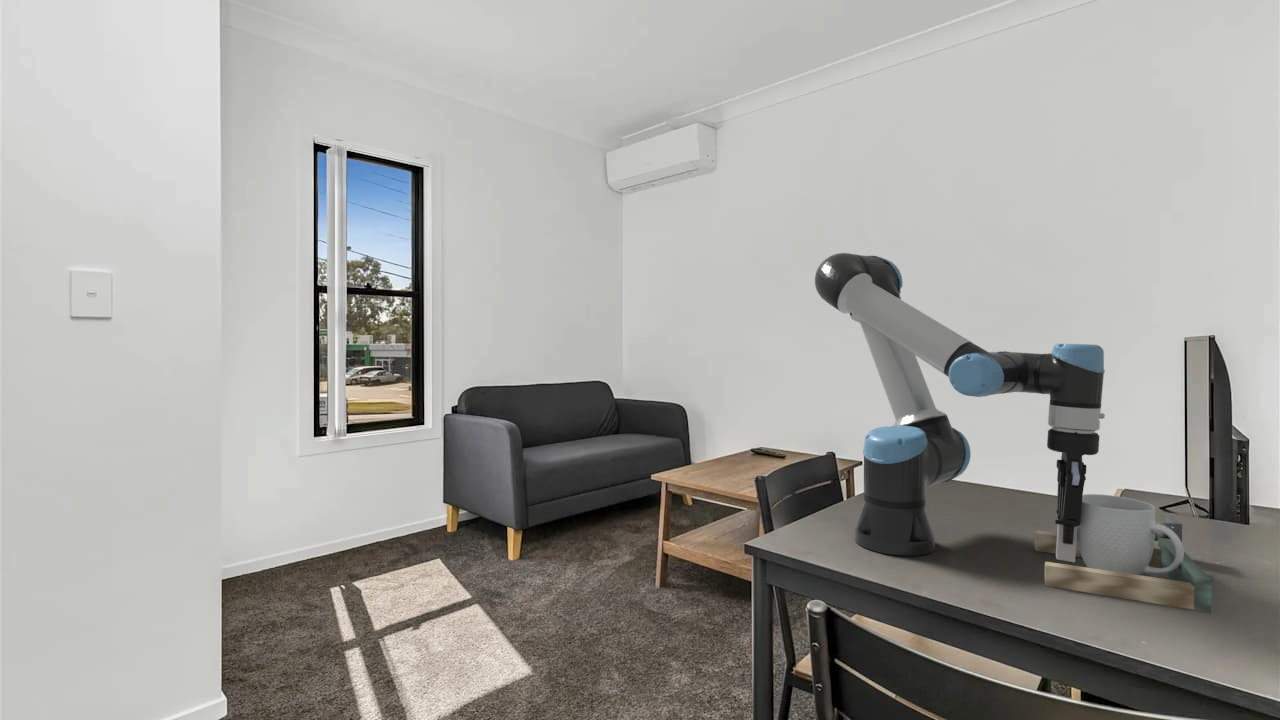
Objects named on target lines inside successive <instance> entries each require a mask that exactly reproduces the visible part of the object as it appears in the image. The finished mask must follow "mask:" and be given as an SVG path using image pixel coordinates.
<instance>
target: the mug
mask: <svg viewBox="0 0 1280 720" xmlns="http://www.w3.org/2000/svg"><path fill="white" fill-rule="evenodd" d="M1155 522H1157V521H1156V506H1155V505H1153V504H1151V503H1149V502H1146V501H1143V500H1138V499H1134V498H1130V497H1124V496H1118V495H1117V496H1116V495H1112V494H1111V495H1109V494H1097V493H1096V494H1094V493H1093V494H1091V493H1090V494H1083V496H1082V506H1081V515H1080V525H1079V526H1077V542H1078V546H1079V550H1080V553H1081V556H1082V557H1081V558H1082V561H1083V562H1084V564H1085V566H1086V567H1087V568H1093V569H1100V570H1107V571H1114V572H1121V573H1128V574H1135V575H1142V576H1144V574H1155V575H1166V574H1165V573H1170V572H1173V571H1175V570H1176V569H1178V568H1179V567H1180V565H1181V563H1182V561H1183V557H1184V552H1185V551H1184V546H1183V542H1182V543H1181V541H1180V539H1179V537H1178V536H1177V535H1176V534H1175V533H1174V532H1173V531H1172V530H1170V529H1169V528H1167V527H1165V526H1163V525H1159V524H1155ZM1155 531H1159V532H1162V533H1164V534H1166V535H1167V536H1168V537H1169V538H1170V539H1171V540H1172V542H1173V544H1174V547H1175V552H1176V555H1175V559H1174V561H1173V563H1172V564H1171V565H1170V566H1168V567H1165V568H1156V567H1149V566H1148V565H1149V562H1150V561H1151V557H1152V553H1153V547H1154V545H1155V541H1154V540H1155Z"/></svg>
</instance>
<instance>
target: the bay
mask: <svg viewBox="0 0 1280 720" xmlns="http://www.w3.org/2000/svg"><path fill="white" fill-rule="evenodd" d="M1034 532H1035V533H1034V550H1035V551H1036V552H1042V553H1043V552H1044V553H1049V554H1055V555H1056V544H1057V532H1052V531H1045V530H1038V529H1037V530H1034ZM1157 545H1158V546H1156V544H1154V547H1153V553H1152V557H1151V561H1150V562H1149V565H1148V566H1149V567H1153V568H1165V567H1168V566H1170V565H1171V564H1172V563H1173V561H1174V559H1175V555H1176V552H1175V547H1174V544H1173V542H1172V540H1171V539H1165V538H1158V541H1157ZM1075 557H1078V558H1082V556H1081V553H1080V550H1079V546H1078V542H1077V540H1076V555H1075ZM1164 575H1165V576H1166V577H1167V578H1160V577H1154V576H1149V575H1147V576H1146V575H1135V574H1128V573H1121V572H1114V571H1107V570H1100V569H1093V568H1088V567H1087V566H1086V567H1085V566H1078V565H1071V564H1066V563H1065V564H1064V563H1057V562H1051V561H1044V581H1043V582H1044V585H1045V587H1051V588H1058V589H1065V590H1071V591H1075V592H1081V593H1082V592H1083V593H1089V594H1095V595H1100V596H1101V595H1102V596H1106V597H1107V596H1108V597H1112V598H1113V597H1114V598H1119V599H1126V600H1132V601H1139V602H1143V603H1144V602H1145V603H1151V604H1157V605H1162V606H1169V607H1176V608H1181V609H1188V610H1194V611H1198V612H1199V611H1201V612H1206V613H1211V611H1212V588H1213V587H1212V586H1213V585H1212V583H1213V581H1212V578H1210V576H1209V575H1207V573H1205V572H1204V571H1203V569H1202V568H1201V567H1200V566H1199V565H1198V564H1197V563H1196V562H1195V561H1194V560H1193V559H1192V558H1191V557H1190V556H1189V554H1187V552H1185V551H1184V557H1183V561H1182V563H1181V565H1180V567H1179V568H1178V569H1176V570H1175V571H1173V572H1170V573H1165V574H1164Z"/></svg>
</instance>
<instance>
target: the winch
mask: <svg viewBox="0 0 1280 720" xmlns="http://www.w3.org/2000/svg"><path fill="white" fill-rule="evenodd" d="M1155 524H1159V525H1163V526H1165V527H1167V528H1169V529H1170V530H1172V531H1173V532H1174V533H1175V534H1176V535H1177V536H1178V537H1179V539H1180V541H1181V543H1182V544H1183V523H1181V521H1180V520H1178V519H1177V518H1176V517H1175V516H1167V515H1166V516H1165V522H1164V521H1163V522H1162V521H1156V522H1155ZM1158 538H1165V539H1170V538H1169V537H1168V536H1167V535H1166V534H1164V533H1162V532H1159V531H1155V540H1154V542H1158ZM1155 545H1156V544H1155ZM1156 546H1158V544H1157V545H1156Z"/></svg>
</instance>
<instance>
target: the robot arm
mask: <svg viewBox="0 0 1280 720" xmlns="http://www.w3.org/2000/svg"><path fill="white" fill-rule="evenodd" d="M814 276H815V277H814V286H815V289H816V292H817V293H818V295H819V296H820V298H821V299H823V301H825V302H826V303H828V305H829V306H831V307H833V308H835V309H836V310H838V311H839V312H841V313H842V314H849V316H850V319H851V320H852V321H855V322H857V323H859V324H860V326H861V329H862V331H863V334H864V337H865V340H866V342H867V345H868V348H869V351H870V353H871V355H872V360H873V361H874V365H875V367H876V371H878V372H877V373H878V375H879V378H880V381H881V383H882V386H883V389H884V391H885V394H886V396H887V399H888V403H889V405H890V407H891V410H892V413H893V416H894V420H895V422H894V424H893V425H891V426H887V425H886V426H880V427H877V428H873V429H871V430H869V431H868V432H867V433H866V434H865V438H864V443H863V444H864V445H863V446H864V447H863V449H862V454H863V505H862V507H861V510H860V513H859V515H858V518H857V520H856V523H855V527H854V542H856V543H857V544H858V545H859V546H861V547H862V548H865V549H868V550H871V551H874V552H877V553H881V554H887V555H894V556H905V557H906V556H909V557H912V556H915V557H917V556H924V555H927V554H928V555H929V554H930V553H932V552H934V551H935V549H936V537H935V535H934V531H933V527H932V525H931V521H930V518H929V516H928V513H927V509H926V508H927V507H926V500H927V499H926V498H927V497H926V495H927V494H926V493H927V491H926V490H927V489H926V488H927V487H930V486H933V485H937V484H943V483H947V482H950V481H952V480H953V479H957V478H958V477H959V476H961V475H962V474H963V473H964V472H965V471H966V469H967V467H969V464H970V461H971V454H972V453H971V447H970V446H971V445H970V444H969V441H968V439H967V438H966V436H965V435H964V434H963V433H962V432H961V431H959V430H957V429H956V428H955V427H953V426H952V425H951V423H950V419H949V417H948V415H947V413H945V412H944V411H941V410H939V409H938V408H937V407H936V405H935V402H934V400H933V398H932V394H931V392H930V390H929V386H928V384H927V382H926V379H925V376H924V375H923V372H922V369H921V367H920V364H919V362H918V359H917V357H918V358H919V359H920V360H922V361H924V362H925V363H927V364H928V365H929V366H931V367H933V368H934V369H936V370H937V371H938V372H941V373H942V374H944V375H945V376H946V377H948V379H949V382H950V384H951V386H952V388H953V389H954V390H955V391H956V392H957V393H959V394H960V395H964V396H968V397H976V398H977V397H979V398H981V397H988V396H992V395H1000V394H1002V395H1003V394H1009V393H1011V394H1012V393H1028V394H1041V395H1049V399H1050V400H1049V404H1048V405H1049V406H1048V417H1047V418H1048V419H1047V424H1048V426H1049V427H1051V428H1049V429H1048V430H1047V442H1046V443H1047V445H1046V446H1047V449H1049V450H1051V451H1052V452H1057V453H1061V456H1060V457H1061V459H1057V460H1056V468H1057V499H1056V500H1057V503H1056V505H1057V506H1056V508H1057V509H1056V511H1055V512H1056V514H1057V519H1055V520H1054V522H1055V525H1057V530H1056V533H1057V544H1056V554H1055V559H1056V560H1059V561H1064V562H1070V563H1076V556H1075V555H1076V540H1077V526H1079V525H1080V515H1081V506H1082V496H1083V495H1084V493H1083V492H1084V487H1085V483H1086V480H1087V478H1086V474H1087V464H1085V463H1084V462H1083V456H1085V455H1086V456H1094V455H1098V453H1099V449H1100V447H1099V446H1100V435H1099V433H1098V432H1096V431H1099V430H1100V427H1101V426H1100V425H1101V420H1100V419H1102V420H1103V419H1105V413H1103V412H1102V411H1101V409H1102V398H1103V388H1104V387H1103V386H1104V375H1105V371H1106V370H1105V367H1104V366H1105V362H1104V361H1105V357H1104V356H1105V353H1104V352H1105V351H1104V349H1103V347H1101V345H1098V344H1089V343H1088V344H1083V343H1080V344H1079V343H1055V344H1054V345H1053V347H1052V351H1051V352H1050V353H1031V352H1029V353H1028V352H1016V351H1015V352H1013V351H1006V350H1005V351H988V350H986V349H983V348H982V347H981V346H979V345H977V344H976V343H973V342H972V341H971V340H969V339H968V338H966V337H964V336H962V335H961V334H959V333H957V332H955V331H954V330H952V328H951V329H950V328H949V327H947V326H945V325H944V324H942V323H940V322H939V321H937V320H935V319H934V318H932V317H931V316H929V315H927V314H925V313H923V311H921V310H919V309H917V308H916V307H914V306H913V305H910V304H909V303H908V302H905V301H904V300H902V298H901V296H900V295H901V289H902V288H903V276H902V273H901V271H900V269H899V268H898V267H897V265H895V263H893V262H892V260H889V259H887V258H884V257H882V256H881V257H880V256H878V255H861V254H856V253H855V254H854V253H849V252H840V253H836V254H832V255H830V256H829V257H827V258H826V259H824V260H823V261H822V262H821V263H820V264H819V266H818V268H817V269H816V272H815V275H814Z"/></svg>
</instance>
